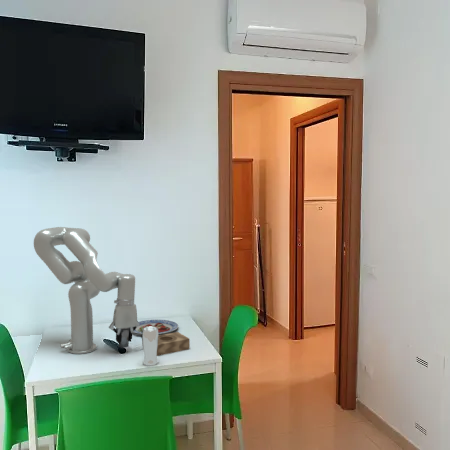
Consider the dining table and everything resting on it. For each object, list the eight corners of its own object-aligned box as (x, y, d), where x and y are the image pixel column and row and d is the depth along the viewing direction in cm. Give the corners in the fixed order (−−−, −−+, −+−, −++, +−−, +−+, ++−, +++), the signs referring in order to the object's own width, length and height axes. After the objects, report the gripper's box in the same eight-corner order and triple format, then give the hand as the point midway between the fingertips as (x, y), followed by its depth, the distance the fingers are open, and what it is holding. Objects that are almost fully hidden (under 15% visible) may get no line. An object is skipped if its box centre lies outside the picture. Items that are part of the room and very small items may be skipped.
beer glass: (159, 360, 196) (159, 326, 194) (157, 366, 189) (157, 331, 188) (143, 360, 195) (143, 326, 194) (141, 366, 188) (140, 331, 187)
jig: (153, 356, 199) (153, 344, 199) (143, 348, 210) (142, 336, 209) (189, 349, 209) (189, 337, 209) (177, 341, 219) (177, 330, 219)
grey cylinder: (120, 348, 201) (121, 330, 201) (117, 344, 205) (118, 327, 204) (130, 346, 204) (130, 329, 203) (126, 343, 208) (127, 326, 207)
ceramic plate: (172, 321, 255) (172, 316, 254) (183, 335, 230) (183, 329, 230) (126, 325, 246) (126, 320, 246) (132, 340, 222) (132, 334, 222)
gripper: (110, 305, 195) (108, 346, 197) (146, 302, 204) (144, 341, 206) (104, 301, 201) (102, 341, 203) (140, 298, 210) (138, 336, 212)
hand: (123, 341), depth 204 cm, fingers closed on grey cylinder, 4 cm apart
